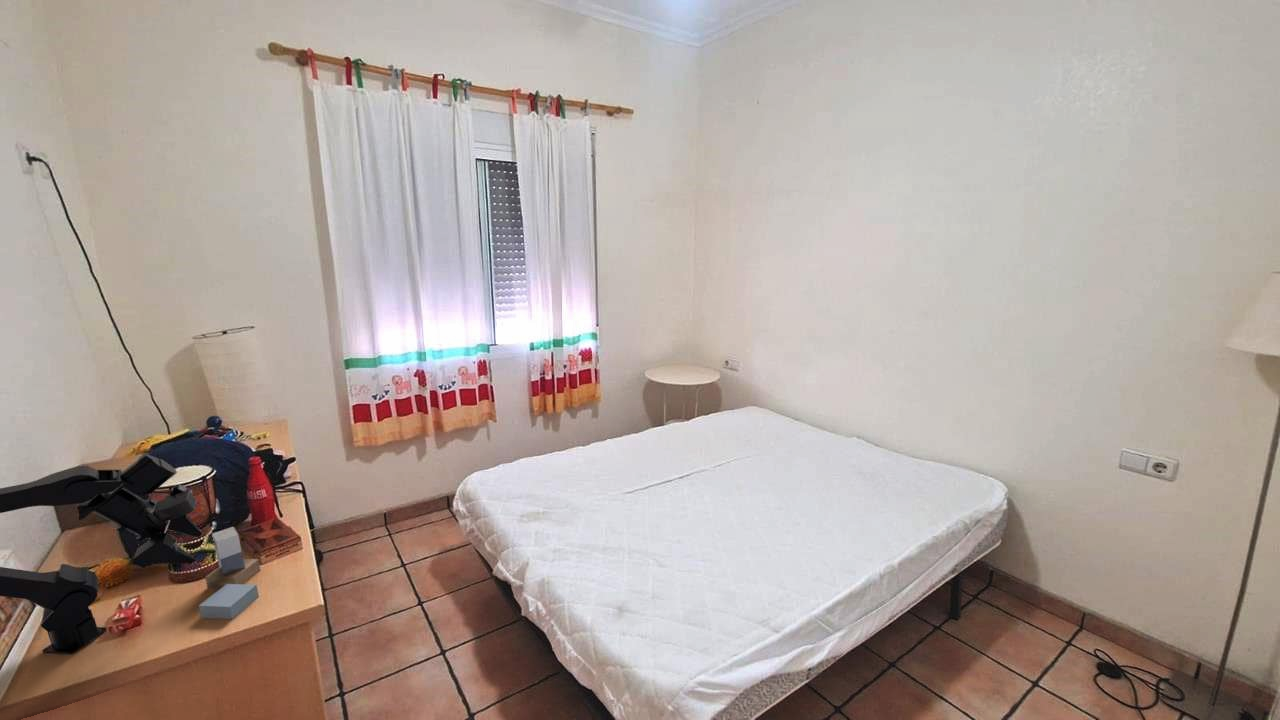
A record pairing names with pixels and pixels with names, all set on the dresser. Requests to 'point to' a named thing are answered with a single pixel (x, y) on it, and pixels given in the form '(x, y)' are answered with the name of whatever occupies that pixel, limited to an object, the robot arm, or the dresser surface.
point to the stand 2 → (228, 601)
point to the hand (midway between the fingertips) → (197, 548)
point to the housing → (228, 551)
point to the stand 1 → (233, 575)
